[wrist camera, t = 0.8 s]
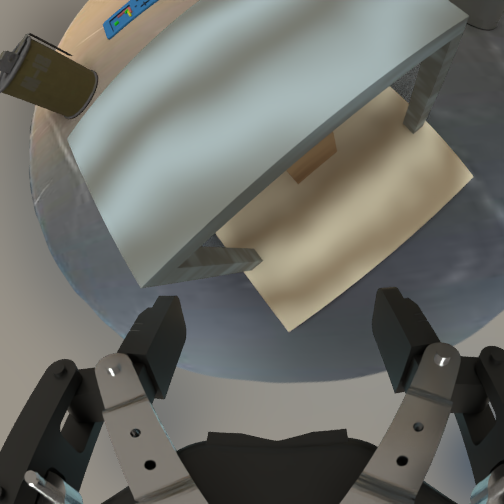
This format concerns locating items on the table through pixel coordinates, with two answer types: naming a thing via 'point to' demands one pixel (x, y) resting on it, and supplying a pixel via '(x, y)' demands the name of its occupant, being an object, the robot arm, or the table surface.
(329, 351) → the table surface
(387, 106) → the tunnel deck
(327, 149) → the walnut block
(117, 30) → the handheld gaming device
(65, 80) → the canister
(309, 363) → the table surface
